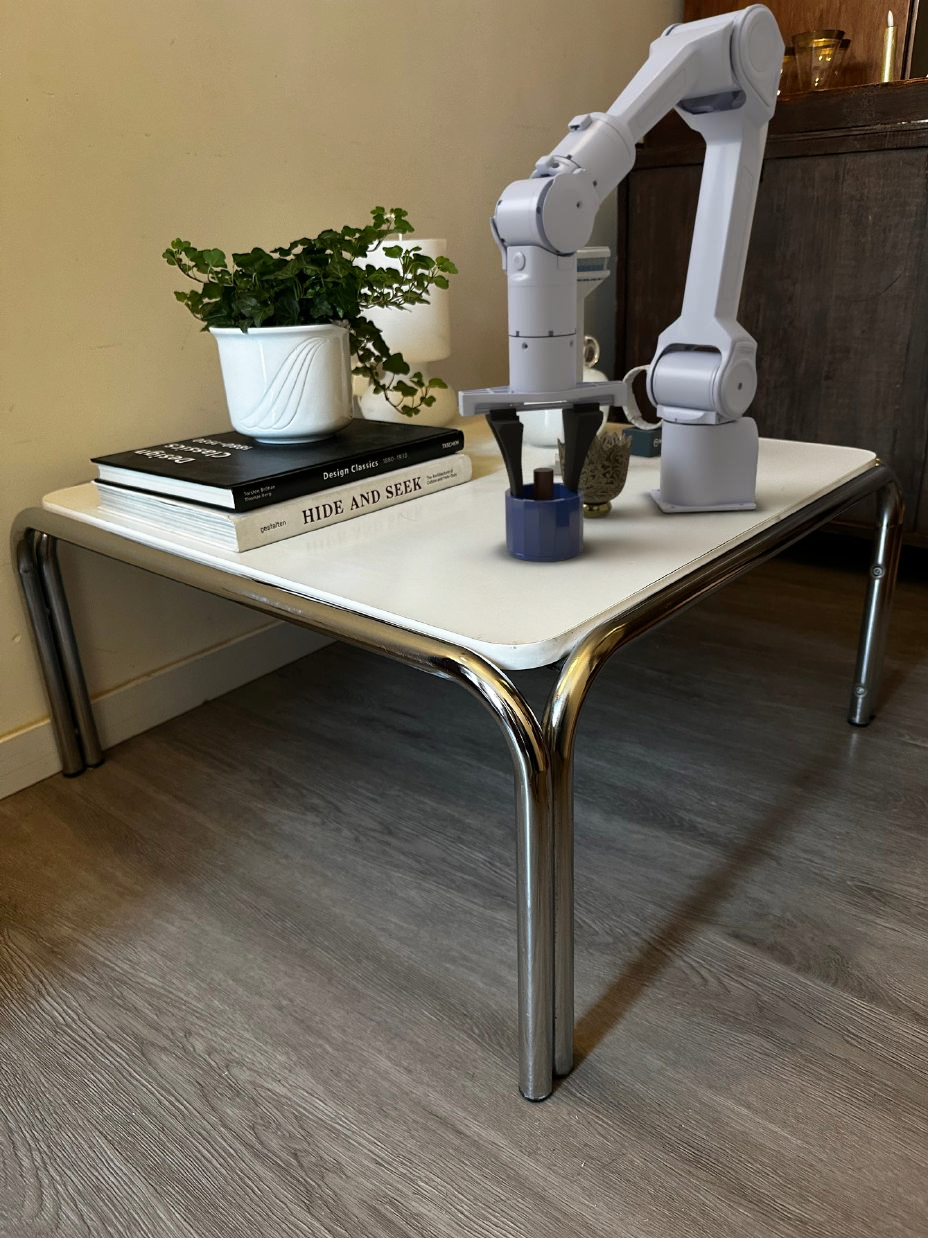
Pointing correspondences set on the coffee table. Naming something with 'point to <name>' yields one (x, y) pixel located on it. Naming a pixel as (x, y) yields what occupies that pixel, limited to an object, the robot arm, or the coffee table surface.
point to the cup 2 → (602, 472)
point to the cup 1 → (544, 524)
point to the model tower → (588, 278)
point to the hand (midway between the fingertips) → (543, 491)
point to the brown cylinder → (543, 484)
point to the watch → (640, 423)
